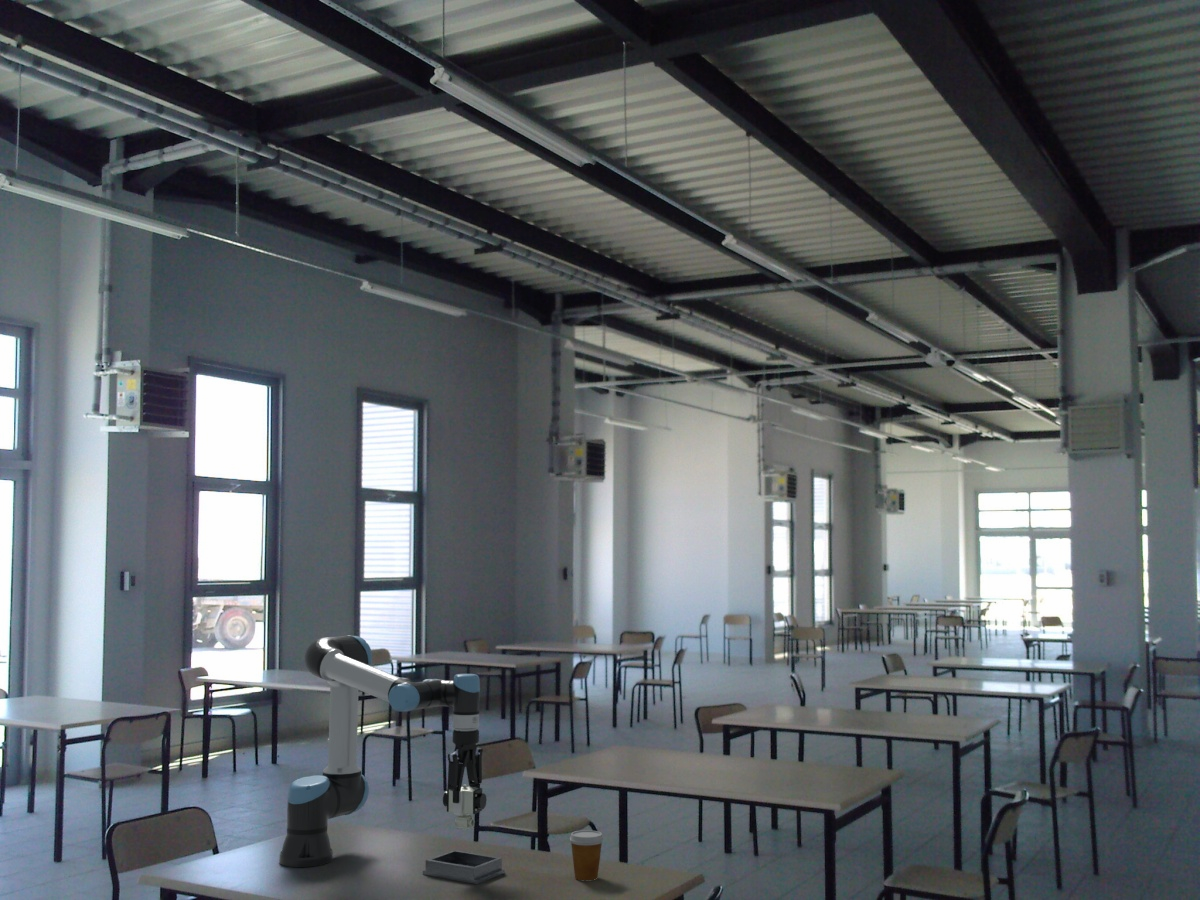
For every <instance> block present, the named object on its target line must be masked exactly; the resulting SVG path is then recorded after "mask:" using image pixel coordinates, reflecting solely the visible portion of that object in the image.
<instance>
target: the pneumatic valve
mask: <svg viewBox="0 0 1200 900" xmlns="http://www.w3.org/2000/svg"><path fill="white" fill-rule="evenodd" d="M461 791H463V804H462V815H456V817H455V818H454V823H453V824H454V826H455V829H457V830H463V831H464V830H469V829H470V828H471V829H472V828H473V827H474V826H475V818H473V815H476V814H478V813H481V812H482V811H483V810H484V809H485V808H486V805H487V795H486V793H484V792H483V788H482V787H477V788H471V787H470V786H467V784H462V786H461ZM442 804H443V806H444V807H445V808H446V812H447V813H453V791H451V790H449V789H448V788H447V789H446V790H445V792H444V793H443V795H442Z"/></svg>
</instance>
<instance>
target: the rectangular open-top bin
mask: <svg viewBox="0 0 1200 900" xmlns="http://www.w3.org/2000/svg"><path fill="white" fill-rule="evenodd" d="M502 862H503V858H502V857H499V856H498V857H497V856H493V855H486V854H480V853H475V852H467V851H462V850H455V849H454V850H450V851H448V852H445V853H442V854H440V855H436V856H434V857H431V858H429V859H425V869H423V870H422V875H423V876H428V877H429V876H430V877H434V878H440V879H445V880H446V879H447V880H452V881H458V882H463V883H468V884H475V885H479V884H481V883H484V882H486V881H489V880H491V879H493V878H496V877H498V876H501V875H503V874H505V869H504V868H503V867H502V866H503V863H502Z"/></svg>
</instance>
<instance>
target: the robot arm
mask: <svg viewBox="0 0 1200 900" xmlns="http://www.w3.org/2000/svg"><path fill="white" fill-rule="evenodd" d="M372 662H373V652H372V649H371V646H370V644H369V643H368V642H367V641H366V640H365V639H364V638H362V637H361V636H358V635H339V636H328V637H320V638H318V639H315V640H314V641H312V642H311V643H310V644H309V645H308V646H307V648H306V650H305V652H304V664H305V667H306V669H307V671H309V672H310V673H311V675H314V676H315V677H316V678H317V677H318V678H319V679H322V680H325V682H327V684H328V685H329V686H330V687H329V688H330V689H329V690H330V691H329V692H330V693H329V694H330V695H329V719H328V720H329V723H328V725H329V726H328V728H329V729H328V752H327V753H328V755H327V756H328V758H327V759H328V760H327V766H326V767H325V768H324V769H322V775H316V774H315V775H310V776H304V777H300V778H298V779H296V780H294V781H292V782H291V783H290V785H289V786H288V795H287V799H286V800H287V812H286V813H287V814H286V815H287V816H286V817H287V819H286V835H285V839H284V841H283V845H282V849H281V851H280V854H279V864H280V865H281V866H285V867H291V868H310V867H316V866H322V865H326V864H328V863H330V862H332V861H333V856H334V855H333V854H334V853H333V852H334V851H333V849H332V847H331V842H330V838H329V833H328V824H329V823H328V821H329V820H331V819H334V818H339V817H342V816H348V815H350V814H353V813H355V812H358V811H360V810H361V809H362V807H364V806H365V804H366V803H367V800H368V798H369V792H370V788H369V782H368V780H367V778H366V777H365V775H363V774H362V768H361V767H360V766H359V765H358V764H357V762H358V759H357V756H358V726H359V725H358V724H359V723H358V721H359V691H361V692H363V693H366V694H368V695H370V696H373V697H375V698H377V699H380V700H383V701H384V702H387V703H389V705H390V706H391V708H392V709H393V710H394V711H396V712H405V713H407V712H411V711H415V710H421V709H427V708H434V707H449V708H451V707H452V711H453V712H452V728H453V730H452V743H453V744H454V745H455V746H454V747H455V748H454V751H453V752H452V753H448V754H447V760H448V771H447V789H449V790H451V791H453V812H452V814H453V815H456V816H460V815H462V804H463V791H461V787H463V780H464V776H465V775H464V774H465V769H466V775H467V781H468V785H469V786H468V787H471V788H481V784H482V781H483V771H482V770H483V766H482V765H483V761H482V760H483V759H482V758H483V757H482V756H483V752H484V748H480V747H477V746H478V745H477V744H478V743H479V742H480V730H479V729H478V728H479V727H480V697H481V685H480V684H481V682H480V677H479V675H478V674H475V673H457V674H455V675H454V676H453V680H449V679H448V680H447V679H438V678H428V679H427V678H426V679H424V680H422V681H415V682H413V681H409V680H407V679H404V678H402V677H399V676H397V675H395V674H392V673H389V672H387V671H384V670H383V669H380V668H378V667H375V666H372Z"/></svg>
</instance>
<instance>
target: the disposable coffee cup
mask: <svg viewBox="0 0 1200 900" xmlns="http://www.w3.org/2000/svg"><path fill="white" fill-rule="evenodd" d="M569 841H570V843H571V844H570V845H571V852H572V860H573V861H572V862H573V871H574V872H573V874H574V879H575V878H576V879H578V880H577V881H579V880H593V881H595V880H594V879H596V878H597V877H598V876H599V869H600V861H601V851H602V844H603V841H604V836H603V833H602V832H601V831H597V830H592V829H591V830H588V829H583V830H582V829H581V830H576V831H573V832H571V833H570V837H569ZM576 879H575V880H576ZM597 879H598V878H597ZM597 879H596V880H597Z"/></svg>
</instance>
